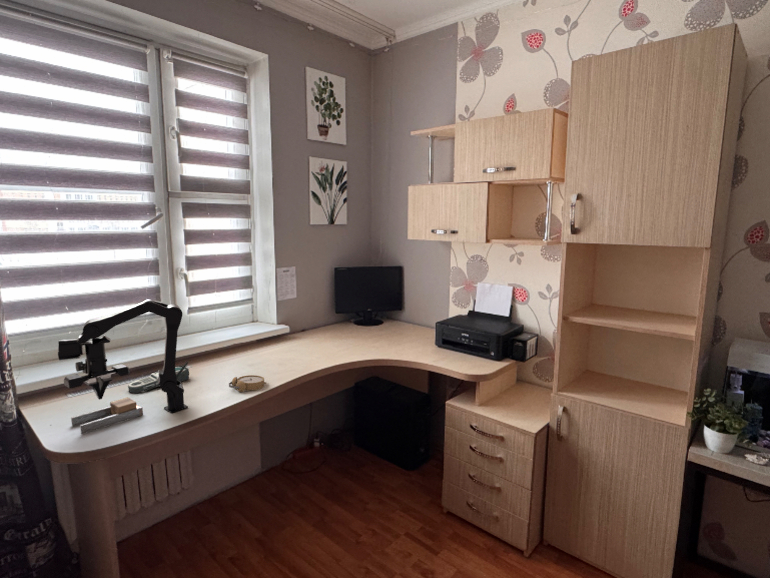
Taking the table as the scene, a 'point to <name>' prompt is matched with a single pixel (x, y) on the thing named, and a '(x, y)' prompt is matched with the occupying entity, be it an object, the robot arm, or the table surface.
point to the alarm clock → (247, 383)
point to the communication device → (152, 382)
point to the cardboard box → (122, 405)
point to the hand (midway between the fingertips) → (100, 399)
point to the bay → (104, 421)
